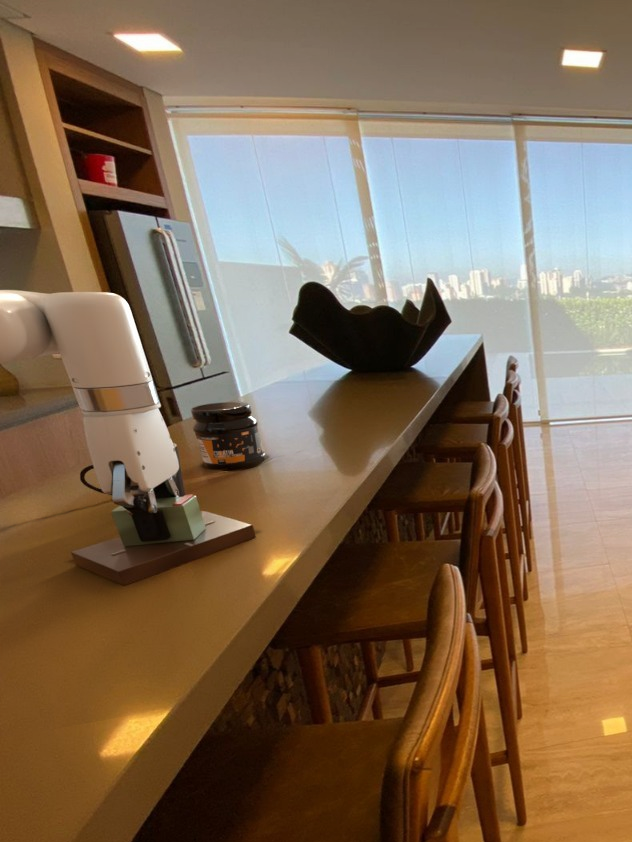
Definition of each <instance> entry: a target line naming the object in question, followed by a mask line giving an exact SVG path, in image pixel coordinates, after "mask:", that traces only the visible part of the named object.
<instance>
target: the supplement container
mask: <svg viewBox="0 0 632 842" xmlns="http://www.w3.org/2000/svg"><path fill="white" fill-rule="evenodd" d="M251 407H252V406H251V404H250V403H249V402H245V401H223V402H222V401H221V402H212V403H206V404H205V403H204V404H201V405H196V406H194V407H192V408H191V409H190V413H191V415H192V419H193V420H195V422H194V424H193V425H192V431H193V432H194V434H195V437H196V441H197V444H198V447H199V452H200V454H201V458H202V463H203V465H204V467H205V468H207V469H210V470H211V469H212V470H221V472H234V471H241V470H245V469H249V468H253V467H256V466H258V465H261V464H262V463H263V462H264V461H265V460H266V457H267V456H266V452H265V449H264V445H263V442H262V438H261V433H260V430H259V426H258V425H259V424H258V420H257V419H256V417H254V416H253V415H252V414H253V412H252V408H251Z"/></svg>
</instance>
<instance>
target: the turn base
mask: <svg viewBox="0 0 632 842" xmlns="http://www.w3.org/2000/svg"><path fill="white" fill-rule="evenodd" d="M201 514H202V517H203V520H204V523H205V527H206V529H205V530H204V531H203V532H202V533H201V534H200V535H198V536H197V537H196V538H195V539H194V540H186V541H175V542H165V543H154V544H144V545H133V546H124V545H123V543H122V540H121V537H120V536H118V537H115V538H112V539H108V540H104V541H101V542H98V543H95V544H93V545H89V546H85V547H82V548H80V549H76V550H73V551H72V550H71V551H70V555H71V556H72V559H73V561H74V564H75V566H77V567H79V568H81V569H84V570H86V571H88V572H91V573H93V574H96V575H98V576H100V577H102V578H105V579H107V580H110V581H111V582H114V583H117V584H119V585H121V586H127V585H130V584H132V583H136V582H138V581H141V580H144V579H146V578H150V577H151V576H152V577H153V576H155V575H157V574H160V573H163V572H166V571H169V570H171V569H173V568H176V567H179V566H182V565H185V564H188V563H190V562H192V561H196V560H198V559H201V558H204V557H207V556H209V555H211V554H215V553H218V552H220V551H223V550H225V549H228V548H230V547H234V546H237V545H239V544H241V543H244V542H247V541H250V540H253V539H255V538H257V536H256V532H255V528H254V525H253V524H250V523H247V522H244V521H240V520H238V519H234V518H230V517H227V516H224V515H221V514H217V513H213V512H210V511H206V510H203V511H201Z"/></svg>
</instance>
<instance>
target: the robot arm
mask: <svg viewBox="0 0 632 842" xmlns="http://www.w3.org/2000/svg"><path fill="white" fill-rule="evenodd" d="M58 354H59V355H60V357H61V360H62V364H63V366H64V368H65V371H66V373H67V376H68V379H69V381H70V384H71V387H72V390H73V392H74V393H73V394H74V396H75V399H76V402H77V404H78V406H79V408H80V412H81V414H82V415H83V416H82V422H83V429H84V436H85V441H86V444H87V449H88V453H89V456H90V460H91V463H92V465H93V467H94V469H93V470H94V473H95V476H96V479H97V482H98V485H99V488H100V489H101V490H102V491H103V492H104V493H105V494H104V493H103V494H104V495H108V494H113V496H112V495H111V496H112V497H111V498H112V503H113V504H114V505H117V506H118V507H119V506H122V507H124V508H125V509H126V510H127V513H128V514H129V515H131V516H132V519H133V522H134V524H135V527H136V530H137V533H138V535H139V538H140V540H141V541H142V542H149V541H160V540H167V539H169V538H170V533H169V530H168V527H167V524H166V521H165V518H164V515H163V512H162V510H160V511H157V510H158V509H157V504H156V500H155V499H159V498H172V497H178V496H179V491H178V489H177V486H176V481H177V480H176V474H177V471H178V469H179V463H178V458H177V455H176V451H175V448H174V445H173V443H174V442H173V440H172V437H171V435H170V432H169V429H168V427H167V424H166V422H165V420H164V417H163V416H162V412H161V411H160V408H161V407H162V404H161V402H160V398H159V395H158V392H157V388H156V385H155V382H154V379H153V377H152V373H151V369H150V367H149V364H148V360H147V357H146V354H145V351H144V348H143V344H142V341H141V338H140V335H139V332H138V329H137V325H136V323H135V319H134V316H133V313H132V310H131V307H130V305H129V303H128V301H126V299H125V298H124V297H122V296H121V295H119V294H117V293H113V292H107V291H105V292H104V291H103V292H101V291H66V292H53V293H45V292H36V291H28V290H18V289H0V365H3V364H8V363H13V362H17V361H24V360H28V359H35V358H40V357H45V356H52V355H58ZM135 485H138V486H139V488H138V489H137V490H131V486H135ZM143 494H144V496H145V500H146V501H144V500H143V499H141V498H136V497H134V495H143Z"/></svg>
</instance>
